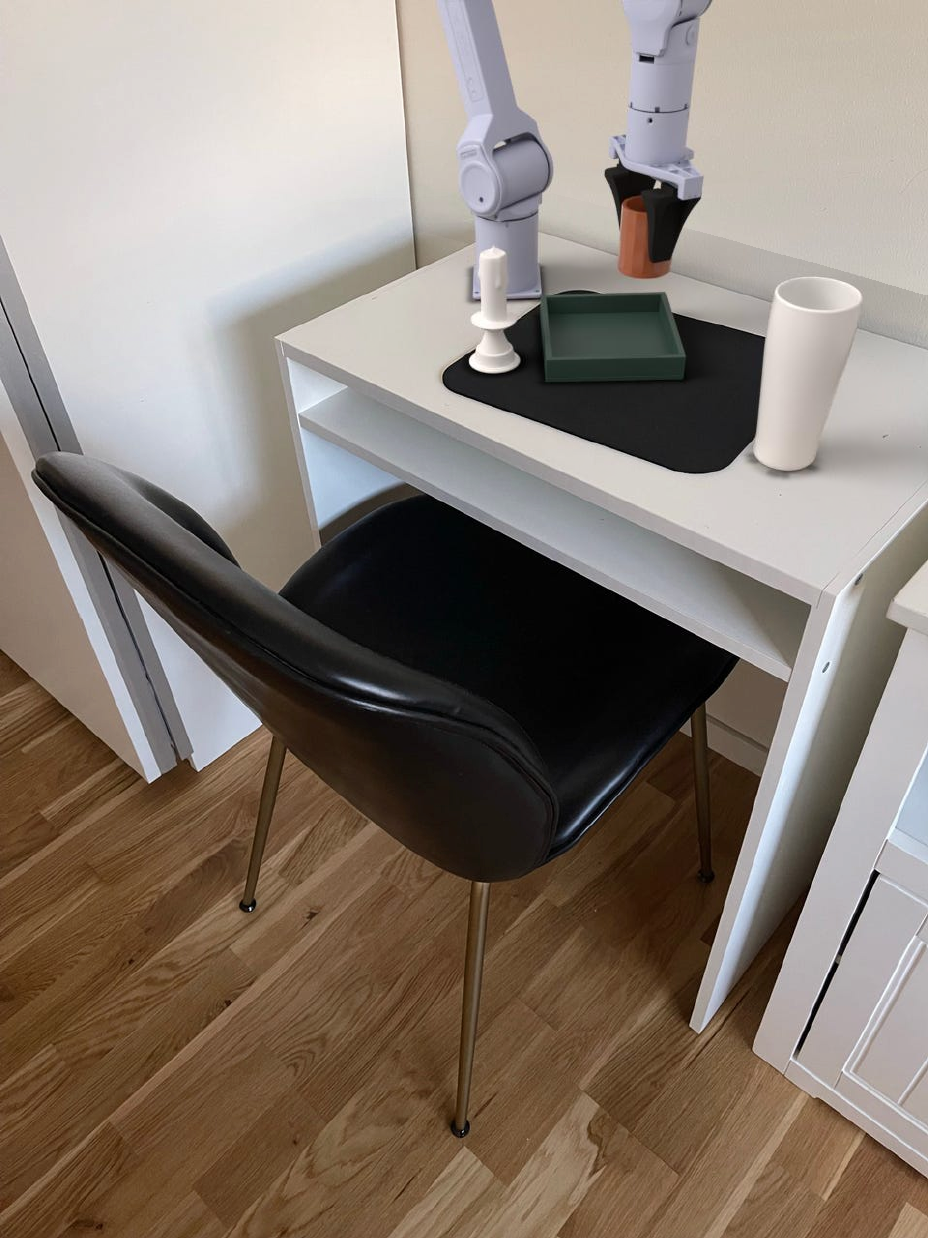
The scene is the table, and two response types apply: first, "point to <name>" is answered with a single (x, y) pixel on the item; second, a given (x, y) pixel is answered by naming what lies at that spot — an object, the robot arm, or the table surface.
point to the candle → (494, 316)
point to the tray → (610, 338)
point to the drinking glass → (803, 367)
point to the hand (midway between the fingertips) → (645, 250)
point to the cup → (637, 243)
